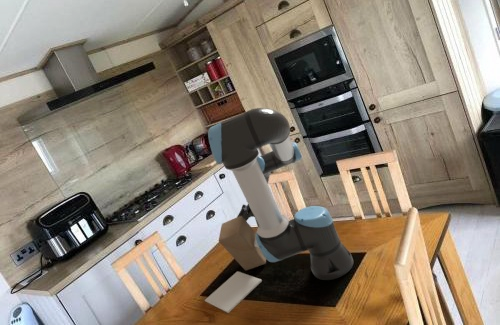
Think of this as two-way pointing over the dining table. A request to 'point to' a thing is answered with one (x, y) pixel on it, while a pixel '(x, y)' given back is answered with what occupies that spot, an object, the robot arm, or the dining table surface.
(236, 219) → the wooden block
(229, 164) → the robot arm
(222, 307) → the grey mat
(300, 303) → the dining table surface
